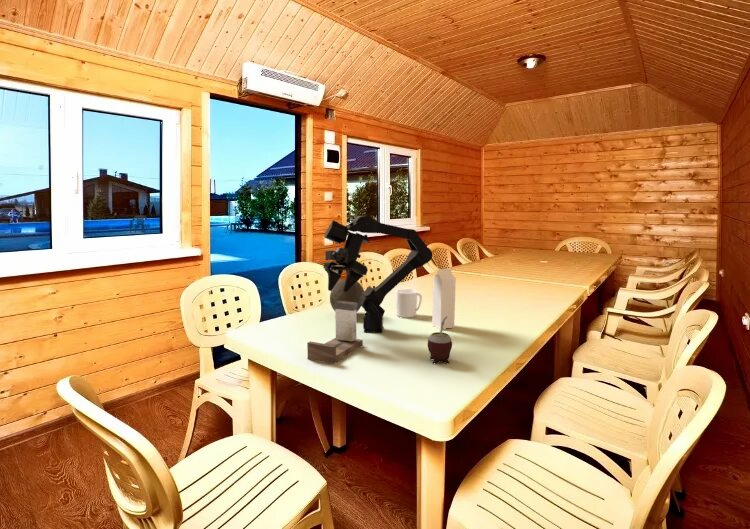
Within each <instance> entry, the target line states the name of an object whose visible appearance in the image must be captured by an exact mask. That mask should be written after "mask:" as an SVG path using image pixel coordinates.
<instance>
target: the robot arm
mask: <svg viewBox="0 0 750 529" xmlns="http://www.w3.org/2000/svg"><path fill="white" fill-rule="evenodd" d="M354 232H355V233H354ZM363 234H364V235H363ZM368 234H383V235H387V236H392V237H397V238H401V239H405V240H406V242H407V245H408V247H409V249H410V252H409V253H408V255H407V256H406V258H405V260H404V261H403V262H402V264H400V265H399V266H397V268H395V269H394V270H393V271H392V272H391V273H390V274H389V275H388V276H386V278H385V279H384V280H382V281H381V283H379V284H378V285H377V286H375V287H372V286H371V285H369V286H368V287H366V289H364V292H362V293H361V294H362V295H361V296H360V298H359V303H360V305H361V307H362V308H363V309H364V312H365V313H364V317H363V319H362V321H363V322H362V323H363V332H364V333H378V334H380V333H383V330H384V328H385V326H384V314H385V311H386V310H385V309H384V308H383V307H382V306H381V305H382V303H383V301H384V300H385V297H387V295H388V294H389V293H390V292H392V290H394V288H396V286H398V285H399V284H400V283H401V282H402V281H403V280H404V279H405V278H406V277H408V276H409V275H410V273H412V272H413V271H415V270H416V269H418V268H421V267H423V266H425V265H426V264H428V263H430V261H432V260H433V251H432V249H431V248H429V247H427V245H426V243H425V242H424V241H423V239H422V238H421V237H420V235H419V233H418V232H417V231H416V230H415V229H412V228H405V227H400V226H396V225H392V224H387V223H384V222H380V221H377V220H376V219H373V218H371V217H369V216H365V215H358V216H355V217H354V219H353V220H352V222H350V223H349V224H346V225H344V224H341V223H339V222H338V221H336V220H334V219H333V220H331V222H330V224H329V225H328V227H327V228H326V230H325V233H324V239H327V240H329V241H331V242H334V243H336V244H337V245H341V243H344V245H343V247H337V248H336V249H335V250H325V253H324V254H325V258H324V260H325V261H326V262H325V263H324V265H323V269H324V271H325V272H326V273H327V277H328V279H327V280H328V282H327V290H328V291H329V292H331V290H332V289H333V288H334V286H335V285H336V283H337V282H338V281H340V280H341V279H340V278H342V274H343V272H344V271H345V272H346V273H345V274H346V278H345V279H346V281H345V285H344V289H343V291H344V292H347V291H348V290H349V289H350V288H351V287H352V286H353V285H354V284H355V283H356V282H359V280H360V279H361V278H363V277H364V276H366V275H367V273H368V271H369V270H368V266H366V265H365V264H363V263H361V262H360V261H358V259H360V258H361V256H362V255H361V254H360V251H361V248H362V246H363V243H365V244H367V243H369V242H370V238H369V237H368Z"/></svg>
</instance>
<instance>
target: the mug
mask: <svg viewBox="0 0 750 529" xmlns="http://www.w3.org/2000/svg"><path fill="white" fill-rule="evenodd" d="M418 296H419V301H418ZM422 300H423V297H422V294H421V293H419V292H418V291H417V290H416V289H413V288H412V289H411V288H400V289H396V290H395V310H396V311H395V312H396V313H395V315H396V317H397V316H398V317H397V318H400V317H402V319H413V318H416V315H417V312H418V311H419V309H420V307H421V304H422V302H423V301H422ZM418 302H419V303H418ZM412 317H413V318H412Z"/></svg>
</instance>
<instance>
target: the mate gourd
mask: <svg viewBox="0 0 750 529" xmlns="http://www.w3.org/2000/svg"><path fill="white" fill-rule="evenodd" d="M446 318H447V316H446V317H445V318H444V319H443V321H442V323H441V330H440V329H439V331H437V332H433V333H431V334H430V335H429V337H428V339H427V349H428V353H429V354H430V357H429V359H430V358H431V359H434V360H433V361H432V364H433V363H437V362H439V361H442V362H441V363H443V362H446V363H445V364H447V363H449V364H450V361H449V359H450V356H451V352H452V349H453V348H452V347H453V342H452V337H451V336H450V334H449V333H446V332H443V325H444V321H445V320H446ZM431 359H430V360H431ZM439 363H440V362H439ZM437 364H438V363H437Z"/></svg>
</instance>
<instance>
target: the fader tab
mask: <svg viewBox="0 0 750 529" xmlns="http://www.w3.org/2000/svg"><path fill="white" fill-rule="evenodd" d="M334 309H335V311H334V312H335V314H334V315H335V338H336V339H339V340H345V341H351V342H352V341H354V340H356V339H358V338H357V312H356V310H357V309H358V303H355V302H346V301H337V302H334Z"/></svg>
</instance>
